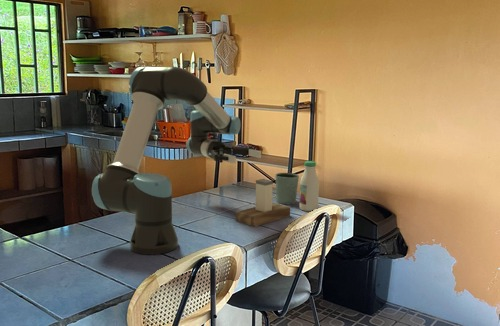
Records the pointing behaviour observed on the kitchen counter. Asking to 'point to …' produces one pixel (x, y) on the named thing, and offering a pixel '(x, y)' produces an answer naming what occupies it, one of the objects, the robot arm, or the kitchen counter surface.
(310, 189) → the milk bottle
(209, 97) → the robot arm
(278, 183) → the green cup
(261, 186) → the plug
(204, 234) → the kitchen counter surface
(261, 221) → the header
